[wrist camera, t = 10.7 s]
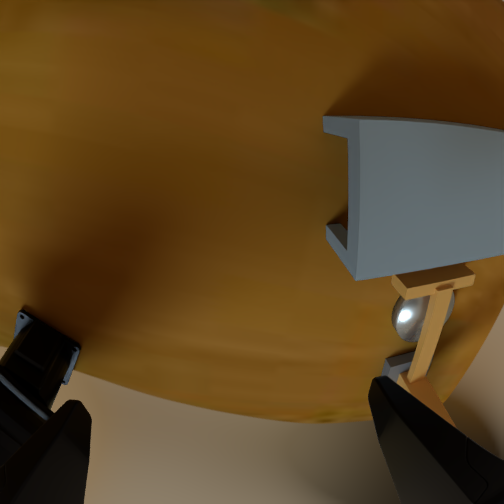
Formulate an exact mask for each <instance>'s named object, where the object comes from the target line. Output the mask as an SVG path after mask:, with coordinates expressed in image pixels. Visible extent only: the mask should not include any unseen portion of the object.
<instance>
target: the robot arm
mask: <svg viewBox="0 0 504 504" xmlns="http://www.w3.org/2000/svg"><path fill="white" fill-rule="evenodd" d="M80 350H81V347H80V345H79V344H78V343H76V342H74V341H73V340H71V339H69V338H67V337H66V336H64V335H62V334H61V333H59V332H57V331H56V330H54V329H53V328H51V327H49V326H48V325H46V324H45V323H43V322H41V321H40V320H38V319H37V318H35V317H34V316H32V315H31V314H29V313H28V312H26V311H25V310H20V311H19V312H18V314H17V320H16V327H15V334H14V340H13V342H12V343H11V345H10V346H9V347H8V349H7V351H6V352H5V354H4V355H3V357H2V358H1V360H0V504H84V496H85V488H86V480H87V473H88V465H89V456H90V439H91V424H92V419H91V416H90V414H89V412H88V411H87V410H86V408H85V407H84V405H83V404H82V402H81V401H79V400H68V401H66V402H65V404H63V405H62V407H60V408H59V409H58V410H57V411H56V412H55V413H53V412H52V411H51V407H52V405H53V402H54V400H55V398H56V395H57V393H58V391H59V388H60V386H61V384H64V385H67V384H68V382H69V379H70V376H71V373H72V371H73V368H74V365H75V363H76V360H77V358H78V355H79V352H80ZM368 401H369V405H370V409H371V412H372V416H373V420H374V424H375V429H376V433H377V437H378V440H379V444H380V447H381V449H382V452H383V455H384V457H385V460H386V463H387V465H388V468H389V471H390V474H391V476H392V479H393V482H394V485H395V488H396V490H397V493H398V496H399V499H400V502H401V504H504V460H502V459H501V458H499V457H497V456H495V455H494V454H492V453H490V452H489V451H487V450H486V449H484V448H483V447H481V446H480V445H478V444H477V443H476V442H474V441H473V440H472V439H470V438H469V437H467V436H466V435H465V434H463V433H462V432H460V431H459V430H458V429H457V428H455V427H454V426H453V425H451V424H450V423H449V422H447V421H446V420H445V419H443V418H442V417H441V416H439V415H438V414H437V413H435V412H434V411H433V410H431V409H430V408H429V407H427V406H426V405H425V404H423V403H422V402H421V401H419V400H418V399H417V398H416V397H414V396H413V395H412V394H410V393H409V392H408V391H406V390H405V389H404V388H402V387H401V386H400V385H398V384H397V383H396V382H395V381H393V380H392V379H391V378H389V377H388V376H386V375H383V376H379V377H375V378H374V379H373V380H372V383H371V386H370V390H369V394H368Z"/></svg>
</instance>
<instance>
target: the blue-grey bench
mask: <svg viewBox="0 0 504 504" xmlns="http://www.w3.org/2000/svg"><path fill="white" fill-rule="evenodd" d="M323 129H324V132H325V133H329V134H333V135H337V136H341V137H345V138H348V179H349V194H348V231H347V230H346V229H345V228H344V227H343V226H342V225H341V224H331V225H326V240H327V241H328V242H329V244H330V245H331V247H332V248H333V249H334V251H335V252H336V254H337V255H338V256H339V258H340V259H341V261H342V262H343V263H344V265H345V266H346V268H347V269H348V271H349V272H350V273H351V275H352V276H353V278H354V279H355V281H358V280H365V279H371V278H377V277H384V276H390V275H396V274H402V273H408V272H414V271H419V270H425V269H431V268H436V267H442V266H447V265H453V264H458V263H463V262H468V261H473V260H478V259H483V258H488V257H493V256H498V255H503V254H504V130H501V129H495V128H490V127H483V126H477V125H470V124H463V123H455V122H447V121H437V120H427V119H415V118H400V117H379V116H323Z"/></svg>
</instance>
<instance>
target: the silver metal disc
mask: <svg viewBox="0 0 504 504" xmlns="http://www.w3.org/2000/svg"><path fill="white" fill-rule="evenodd" d="M430 296H431V295H428V296H423V297H419V298H414V299H409V300H404V299H403V297H402V296H400V297H399V298H398V300H397V302H396V304H395V306H394V308H393V312H392V324H393V327H394V328H395V330H396V331H397V333H398V334H399V336H400V337H401V338H402V339H403V340H405V341H409V342H417V341H419V338H420V334H421V331H422V327H423V323H424V320H425V316H426V312H427V308H428V304H429V300H430ZM453 306H454V293H453V292H452V296H451V300H450V303H449V307H448V311H447V314H446V317H445V321H444V324H445V322H446V321H447V320H448V318H449V316H450V314H451V312H452V310H453ZM444 324H443V325H444Z"/></svg>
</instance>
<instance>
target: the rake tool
mask: <svg viewBox="0 0 504 504" xmlns="http://www.w3.org/2000/svg"><path fill="white" fill-rule="evenodd" d="M475 275H476V274H475V273H474V272H473V271H471V270H470V269H469V268H468V267H467V266H465V265H464V264H463V263H458V264H453V265H447V266H442V267H436V268H431V269H425V270H419V271H414V272H408V273H402V274H396V275H392V281H391V284H392V285H393V286H394V288H395V289H396V290H397V291H398V292H399V294H400V295H401V296H402V297H403V299H404V300H409V299H414V298H419V297H423V296H428V295H431V296H430V300H429V304H428V308H427V312H426V316H425V320H424V323H423V327H422V331H421V334H420V338H419V341H418V344H417V348H416V351H414V352H410V353H406V354H403V355H399V356H395V357H391V358H387V359H386V360H385V364H384V367H383V371H382V375H381V376H383V375H386V376H388V377H389V378H391V379H392V380H393V381H395V382H396V383H397V384H398V385H400V386H401V387H402V388H404V389H405V390H406V391H408V392H409V393H410V394H412V395H413V396H414V397H416V398H417V399H418V400H419V401H421V402H422V403H423V404H425V405H426V406H427V407H429V408H430V409H431V410H433V411H434V412H435V413H437V414H438V415H439V416H441V417H442V418H443V419H445V420H446V421H447V422H449V423H450V424H451V425H453V426H454V427H455V425H454V423H453V421H452V419H451V418H450V416H449V414H448V413H447V411H446V409H445V407H444V406H443V404H442V402H441V401H440V399H439V397H438V396H437V394H436V392H435V391H434V389H433V387H432V386H431V384H430V382H429V381H428V379H427V377H426V375H427V372H428V370H429V367H430V365H431V362H432V359H433V357H434V351H435V348H436V345H437V342H438V339H439V336H440V333H441V330H442V327H443V324H444V321H445V317H446V314H447V311H448V307H449V303H450V300H451V296H452V292H453V290H454V289H458V288H462V287H467V286H471V285H473V283H474V279H475ZM455 428H456V427H455Z"/></svg>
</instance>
